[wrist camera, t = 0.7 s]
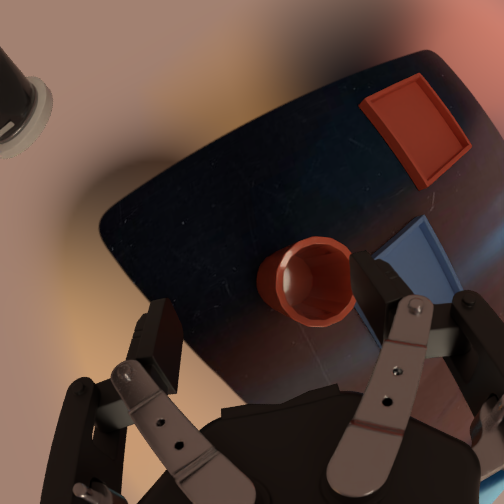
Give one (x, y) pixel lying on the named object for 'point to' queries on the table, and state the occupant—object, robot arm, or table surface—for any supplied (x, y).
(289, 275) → the red cup
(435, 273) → the blue tray
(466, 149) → the red tray
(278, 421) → the robot arm
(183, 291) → the table surface
